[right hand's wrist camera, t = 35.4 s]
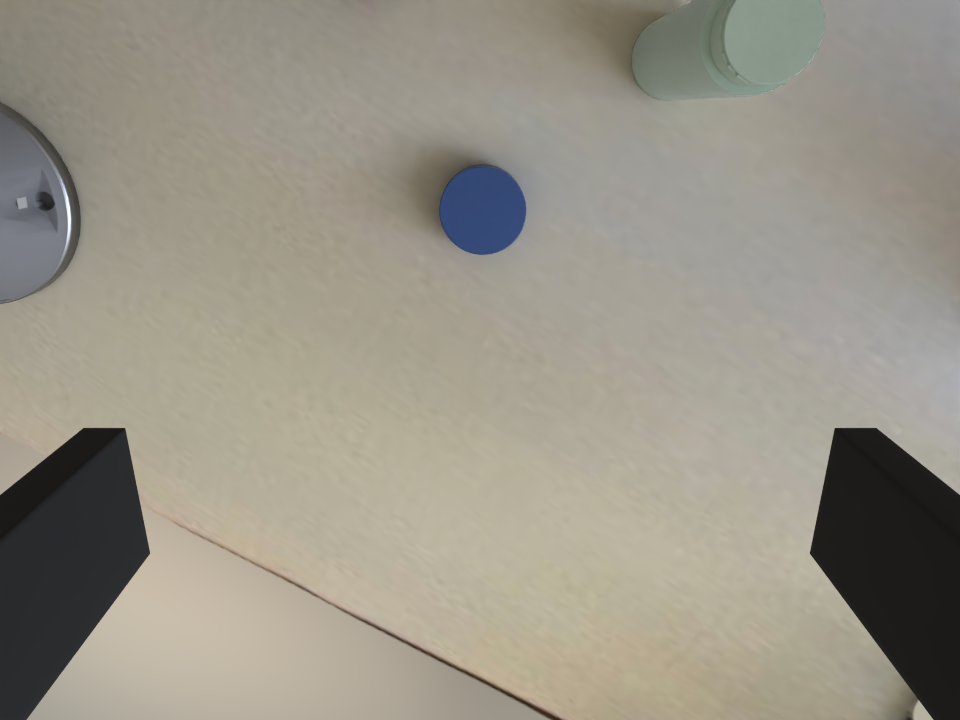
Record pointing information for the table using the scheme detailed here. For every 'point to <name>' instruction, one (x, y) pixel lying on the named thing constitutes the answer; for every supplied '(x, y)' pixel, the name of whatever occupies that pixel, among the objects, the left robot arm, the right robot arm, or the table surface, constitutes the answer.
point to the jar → (727, 48)
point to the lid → (482, 209)
